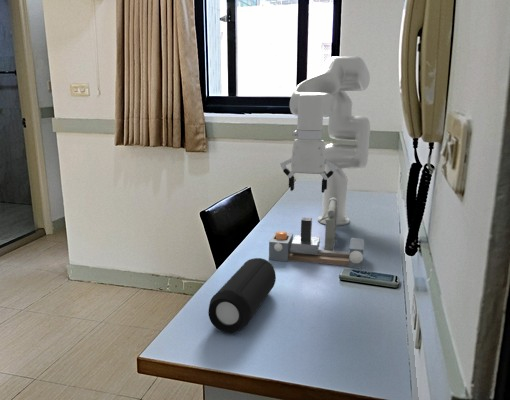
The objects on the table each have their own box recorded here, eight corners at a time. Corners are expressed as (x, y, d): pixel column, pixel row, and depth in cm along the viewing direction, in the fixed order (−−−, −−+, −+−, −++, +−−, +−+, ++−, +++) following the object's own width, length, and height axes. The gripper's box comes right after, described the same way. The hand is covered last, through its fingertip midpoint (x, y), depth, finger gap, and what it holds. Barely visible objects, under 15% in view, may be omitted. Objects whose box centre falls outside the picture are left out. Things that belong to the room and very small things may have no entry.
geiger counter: (339, 211, 151) (340, 193, 175) (319, 210, 153) (323, 192, 176) (336, 251, 155) (338, 229, 179) (317, 250, 156) (322, 227, 180)
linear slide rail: (274, 248, 157) (275, 232, 156) (362, 256, 151) (363, 239, 149) (268, 259, 147) (268, 242, 146) (362, 268, 141) (363, 250, 139)
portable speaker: (243, 286, 128) (243, 252, 126) (278, 292, 125) (278, 257, 123) (205, 332, 105) (204, 292, 103) (246, 340, 102) (246, 298, 99)
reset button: (276, 242, 153) (276, 230, 152) (287, 243, 152) (287, 231, 151) (274, 246, 149) (274, 234, 148) (285, 247, 149) (286, 235, 148)
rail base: (274, 249, 156) (274, 242, 155) (362, 257, 150) (363, 250, 149) (269, 258, 149) (269, 251, 148) (362, 267, 142) (362, 259, 141)
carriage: (295, 243, 154) (296, 214, 151) (319, 245, 152) (320, 216, 150) (291, 252, 146) (292, 221, 144) (316, 254, 145) (318, 223, 142)
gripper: (279, 136, 138) (277, 191, 143) (337, 137, 135) (334, 195, 139) (283, 133, 146) (282, 186, 150) (339, 135, 142) (336, 189, 146)
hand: (307, 190), depth 144 cm, fingers open, 9 cm apart
